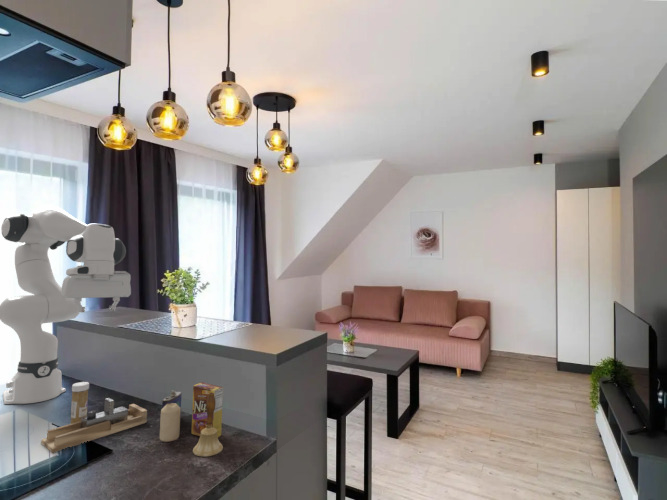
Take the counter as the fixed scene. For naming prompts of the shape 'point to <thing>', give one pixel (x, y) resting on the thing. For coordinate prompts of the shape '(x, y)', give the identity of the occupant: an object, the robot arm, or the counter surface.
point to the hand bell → (208, 433)
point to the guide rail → (91, 430)
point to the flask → (173, 399)
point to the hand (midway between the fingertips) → (97, 311)
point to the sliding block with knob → (105, 415)
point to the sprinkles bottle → (79, 401)
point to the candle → (170, 422)
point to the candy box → (199, 407)
